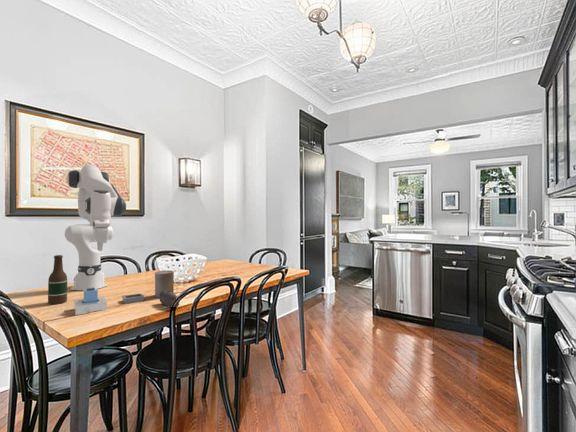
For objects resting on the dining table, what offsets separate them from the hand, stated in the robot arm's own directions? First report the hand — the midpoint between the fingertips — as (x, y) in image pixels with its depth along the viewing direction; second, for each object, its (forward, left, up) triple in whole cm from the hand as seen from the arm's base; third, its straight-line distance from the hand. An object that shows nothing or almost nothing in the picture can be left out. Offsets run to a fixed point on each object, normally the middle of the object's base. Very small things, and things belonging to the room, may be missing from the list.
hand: (99, 250), depth 152 cm
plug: (+6, -4, -26) cm, 27 cm away
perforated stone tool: (+22, +28, -27) cm, 45 cm away
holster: (+3, +15, -27) cm, 31 cm away
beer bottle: (-17, -16, -27) cm, 36 cm away
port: (+6, -4, -27) cm, 28 cm away
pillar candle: (+1, +31, -27) cm, 41 cm away
